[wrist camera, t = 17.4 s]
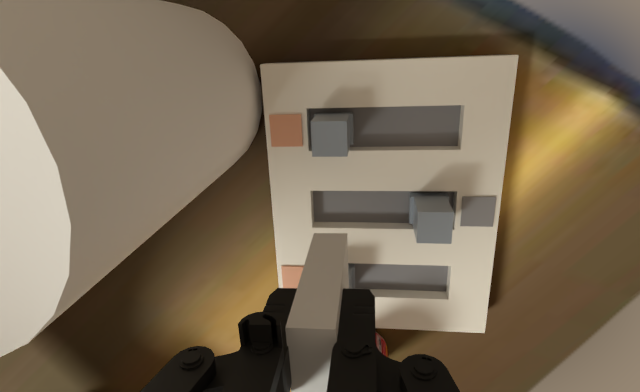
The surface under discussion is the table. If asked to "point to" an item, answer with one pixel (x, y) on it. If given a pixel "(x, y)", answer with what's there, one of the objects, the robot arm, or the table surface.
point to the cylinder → (106, 139)
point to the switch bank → (394, 177)
